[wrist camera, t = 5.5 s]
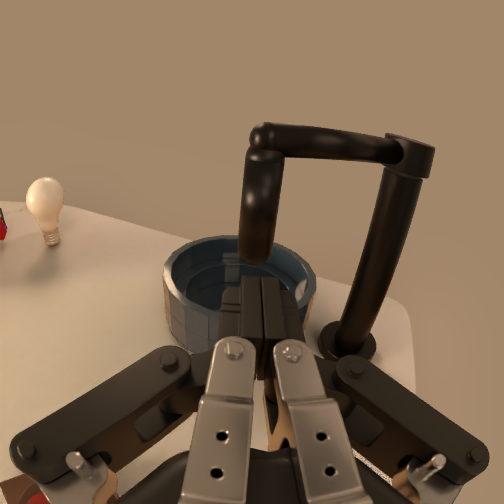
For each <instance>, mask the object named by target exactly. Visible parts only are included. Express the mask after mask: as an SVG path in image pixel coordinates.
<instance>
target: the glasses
mask: <svg viewBox="0 0 504 504" xmlns="http://www.w3.org/2000/svg"><path fill="white" fill-rule="evenodd" d="M0 214H1V217H0V240H4V238H5V235H6V233H7V230H6V229H7V226H6V224H5V221H4V217H3V213H2V210H1V208H0ZM2 221H3V222H2Z"/></svg>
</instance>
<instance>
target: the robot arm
mask: <svg viewBox="0 0 504 504" xmlns="http://www.w3.org/2000/svg"><path fill="white" fill-rule="evenodd" d="M256 375H257V380H264V392H263V404H264V412H265V419H266V426H267V433H268V452H267V451H262V450H257V449H253V448H250V445H251V432H252V419H253V388H254V380H256ZM193 412H197V417H196V422H195V427H194V432H193V436H192V441H191V446H190V450H189V451H185V452H182V453H179V454H177V455H175V456H173V457H171V458H169V459H168V460H166V461H165V462H163V463H162V464H161V465H160V466H158V467H157V468H156V469H155V470H154V471H153V472H151V473H150V474H149V475H148V476H146V477H145V478H144V479H143V480H142V481H140V482H139V483H138V484H136V485H135V486H134V487H133V488H131V489H130V490H129V491H128V492H126V493H125V494H124V495H122V496H121V497H120V498H118V499H117V500H116V501H114V502H113V503H112V504H453V502H454V501H455V499H456V497H457V496H458V494H459V492H460V490H461V488H462V486H463V485H464V484H465V483H466V482H468V481H470V480H471V479H473V478H474V477H476V476H477V475H479V474H480V473H481V472H483V471H484V470H485V469H486V468H487V466H488V463H489V452H488V449H487V447H486V446H485V445H484V443H482V442H481V441H480V440H478V439H477V438H475V437H474V436H472V435H471V434H470V433H468V432H467V431H465V430H464V429H462V428H461V427H460V426H458V425H457V424H455V423H454V422H452V421H451V420H449V419H448V418H446V417H445V416H444V415H442V414H441V413H440V412H438V411H437V410H435V409H434V408H433V407H431V406H430V405H429V404H427V403H426V402H424V401H423V400H421V399H420V398H418V397H417V396H416V395H415V394H413V393H412V392H410V391H409V390H408V389H406V388H405V387H403V386H402V385H401V384H399V383H398V382H397V381H395V380H394V379H392V378H391V377H390V376H388V375H387V374H386V373H384V372H383V371H381V370H380V369H379V368H377V367H376V366H375V365H373V364H372V363H371V362H369V361H368V360H366V359H365V358H363V357H361V356H357V355H346V356H344V357H342V358H340V359H339V361H338V362H334V361H330V360H326V359H323V358H320V357H318V356H316V355H315V354H313V351H312V349H311V348H310V347H309V346H308V345H307V344H306V343H305V338H304V333H303V328H302V323H301V318H300V313H299V309H298V304H297V299H296V297H295V296H294V295H293V294H292V293H291V291H288V290H280V285H279V279H278V278H273V277H258V276H245V275H242V279H241V287H230V286H228V287H227V289H226V290H225V291H224V292H223V294H222V302H221V312H220V321H219V330H218V339H217V342H216V344H215V345H214V346H213V347H212V348H211V349H209V350H208V351H205V352H203V353H198V354H192V355H189V354H188V353H187V352H186V351H185V350H183V349H182V348H179V347H176V346H163V347H160V348H157V349H155V350H154V351H152V352H151V353H149V354H148V355H146V356H145V357H143V358H141V359H140V360H138V361H137V362H135V363H134V364H132V365H130V366H129V367H127V368H126V369H124V370H122V371H121V372H119V373H118V374H116V375H115V376H113V377H111V378H110V379H108V380H107V381H105V382H103V383H102V384H100V385H98V386H97V387H95V388H94V389H92V390H90V391H89V392H87V393H85V394H84V395H82V396H81V397H79V398H77V399H76V400H74V401H72V402H71V403H69V404H67V405H66V406H64V407H62V408H61V409H59V410H57V411H56V412H54V413H52V414H51V415H49V416H47V417H46V418H44V419H42V420H41V421H39V422H37V423H35V424H34V425H32V426H30V427H29V428H27V429H25V430H23V431H22V432H20V433H18V434H17V435H16V436H15V437H14V438H13V439H12V441H11V444H10V448H9V453H10V457H11V460H12V462H13V464H14V465H15V466H16V467H17V468H18V469H19V470H21V471H22V472H23V473H25V474H26V475H27V476H28V477H29V478H30V479H31V480H33V481H34V482H36V483H37V484H38V486H39V487H40V489H41V491H42V492H43V494H44V495H45V497H46V498H47V500H48V501H49V503H50V504H106V502H107V500H108V499H109V498H110V497H111V496H112V495H113V494H114V492H115V491H116V489H117V477H116V475H115V473H116V472H117V471H119V470H120V469H122V468H123V467H125V466H126V465H127V464H129V463H130V462H132V461H133V460H134V459H136V458H137V457H138V456H140V455H141V454H142V453H144V452H145V451H146V450H148V449H149V448H150V447H152V446H153V445H154V444H156V443H157V442H158V441H160V440H161V439H162V438H164V437H165V436H166V435H167V434H169V433H170V432H171V431H173V430H174V429H175V428H176V427H178V426H179V425H180V424H181V423H183V422H184V421H185V420H186V419H188V418H189V417H190V416H191V415H192V413H193ZM351 447H352V448H353V449H354V450H356V451H357V452H358V453H359V454H361V455H362V456H363V457H364V458H366V459H367V460H368V461H369V462H371V463H372V464H373V465H374V466H376V467H377V468H378V469H380V470H381V471H382V472H384V473H385V474H386V475H388V476H389V477H390V478H392V479H393V480H392V486H391V485H390V484H389V483H387V482H386V481H385V480H384V479H383V478H381V477H380V476H379V475H378V474H376V473H375V472H374V471H373V470H372V469H371V468H369V467H368V466H367V465H366V464H365V463H363V462H362V461H361V460H359V459H358V458H356V457H354V454H353V451H352V448H351Z"/></svg>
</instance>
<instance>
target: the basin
mask: <svg viewBox="0 0 504 504" xmlns="http://www.w3.org/2000/svg"><path fill="white" fill-rule="evenodd" d="M237 244H238V236H234V235H232V236H231V235H227V236H226V235H221V236H215V237H208V238H202V239H199V240H196V241H193V242H190V243H187V244H185V245H184V246H182V247H180V248H179V249H177V250H176V251H174V252H173V253H172V254H171V256H170V257H169V258H168V260H167V261H166V262H165V264H164V271H163V287H164V298H165V309H166V319H167V322H168V324H169V327H170V329H171V331H172V334H173V335H174V336H175V337H176V338H177V339H178V340H179V341H180V342H181V343H182V344H183V345H184V346H185V347H186V348H187V349H189V350H190V351H192V352H194V353H196V354H198V353H203V352H205V351H208V350H209V349H211V348H212V347H213V346H214V345H215V344H216V342H217V339H218V330H219V321H220V312H221V302H222V294H223V292H224V291H225V290H226V289H227V287H228V286H230V287H241V279H242V275H245V276H258V277H273V278H278V279H279V285H280V290H288V291H291V293H292V294H293V295H294V296H295V297H296V299H297V304H298V309H299V313H300V318H301V323H302V328H303V333H304V331H305V329H306V325H307V322H308V318H309V315H310V311H311V307H312V304H313V300H314V296H315V292H316V276H315V274H314V272H313V270H312V269H311V267H310V265H309V264H308V263H307V262H306V261H305V260H304V259H303V258H302V257H300V256H299V255H298V254H297V253H296V252H294V251H292V250H290V249H288V248H286V247H284V246H282V245H280V244H277V243H274V242H273V247H272V253H271V256H270V257H269V259H268V260H267V261H266V262H264V263H263V264H261V265H257V266H253V265H249V264H246V263H245V262H243V261H242V259H241V258H240V257H239V255H238V251H237Z"/></svg>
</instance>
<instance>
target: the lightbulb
mask: <svg viewBox="0 0 504 504" xmlns="http://www.w3.org/2000/svg"><path fill="white" fill-rule="evenodd" d="M26 203H27V207H28V209H29V211H30V213H31V214H32V215H33V216H34V217H35V218H36V219H37V221H38V223H39V225H40V227H41V229H42V230H43V234H44V238H45V244H46V245H49V246H55V245H56V244H57V243H58V242H59V241H60V237H59V232H58V223H59V214H60V211H61V209H62V207H63V204H64V191H63V188H62V186H61V184H60V183H59V182H58V181H57V180H55V179H54V178H51V177H43V178H39V179H37V180H36V181H35V182H34V183H33V184H32V185H31V186H30V188H29V190H28V192H27V197H26Z"/></svg>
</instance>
